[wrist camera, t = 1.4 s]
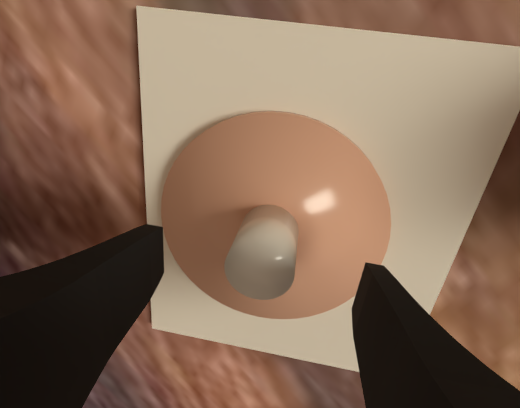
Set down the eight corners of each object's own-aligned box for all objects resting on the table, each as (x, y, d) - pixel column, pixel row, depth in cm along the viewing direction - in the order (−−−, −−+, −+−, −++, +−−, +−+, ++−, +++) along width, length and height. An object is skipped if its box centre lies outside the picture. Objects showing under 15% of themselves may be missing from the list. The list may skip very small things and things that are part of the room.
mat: (399, 374, 17) (400, 380, 17) (155, 323, 19) (152, 328, 18) (538, 49, 11) (546, 49, 10) (141, 7, 12) (136, 5, 12)
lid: (357, 327, 16) (367, 395, 13) (168, 290, 17) (133, 344, 14) (420, 129, 12) (460, 155, 9) (164, 95, 13) (113, 106, 10)
